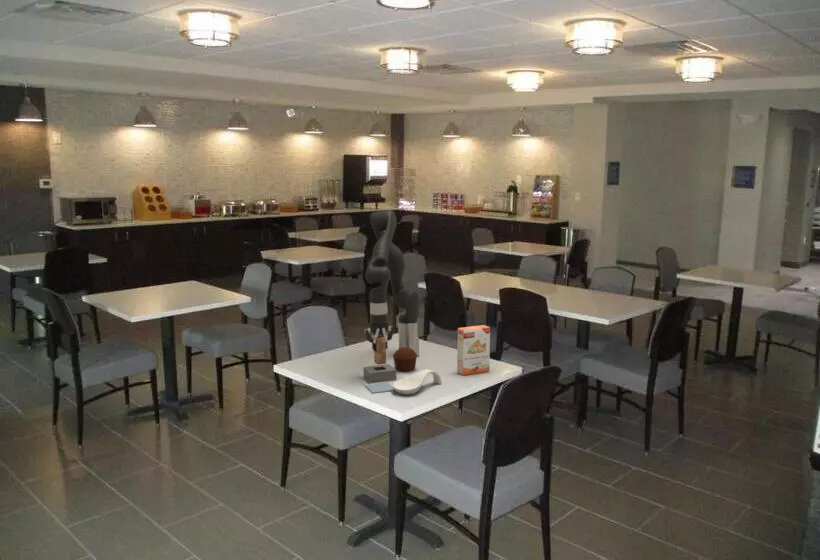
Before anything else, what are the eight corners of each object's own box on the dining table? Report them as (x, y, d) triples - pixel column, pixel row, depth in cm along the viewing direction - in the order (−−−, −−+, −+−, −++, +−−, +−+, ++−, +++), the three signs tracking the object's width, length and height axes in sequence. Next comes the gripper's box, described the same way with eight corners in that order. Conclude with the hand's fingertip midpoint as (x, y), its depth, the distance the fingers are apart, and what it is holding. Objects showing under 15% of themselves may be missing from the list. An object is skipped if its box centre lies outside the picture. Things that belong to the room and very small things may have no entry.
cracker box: (463, 376, 290) (463, 330, 287) (456, 372, 296) (456, 327, 292) (490, 371, 296) (490, 327, 293) (483, 368, 302) (483, 324, 298)
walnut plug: (383, 361, 290) (382, 335, 288) (386, 363, 287) (385, 337, 284) (374, 362, 289) (373, 336, 287) (377, 364, 285) (376, 338, 283)
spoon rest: (405, 399, 262) (405, 382, 261) (387, 392, 271) (386, 376, 270) (447, 386, 278) (447, 370, 277) (428, 380, 287) (428, 364, 285)
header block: (388, 373, 296) (388, 363, 295) (396, 379, 286) (396, 370, 286) (363, 376, 291) (363, 366, 291) (370, 383, 282) (369, 373, 281)
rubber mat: (387, 383, 282) (387, 382, 282) (395, 390, 273) (395, 389, 272) (365, 386, 278) (365, 385, 278) (372, 393, 269) (372, 392, 269)
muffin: (392, 366, 307) (392, 345, 305) (415, 365, 308) (415, 344, 306) (394, 373, 295) (393, 352, 293) (418, 372, 296) (418, 351, 294)
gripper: (391, 308, 290) (392, 346, 293) (360, 312, 285) (361, 350, 288) (397, 312, 283) (398, 350, 286) (365, 315, 278) (367, 354, 281)
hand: (379, 350), depth 287 cm, fingers closed on walnut plug, 4 cm apart
